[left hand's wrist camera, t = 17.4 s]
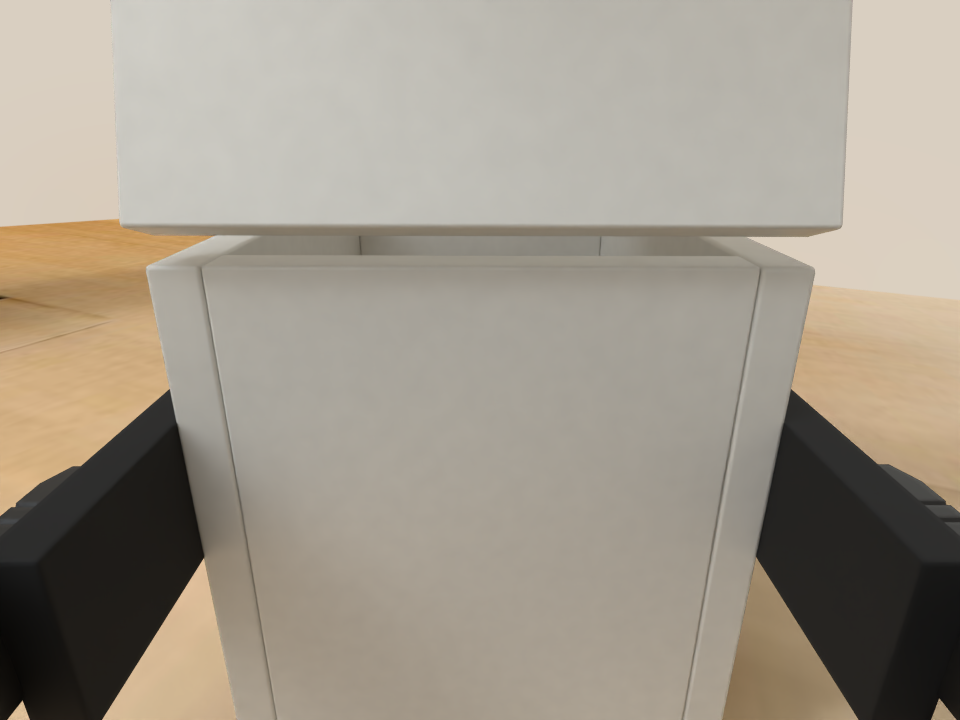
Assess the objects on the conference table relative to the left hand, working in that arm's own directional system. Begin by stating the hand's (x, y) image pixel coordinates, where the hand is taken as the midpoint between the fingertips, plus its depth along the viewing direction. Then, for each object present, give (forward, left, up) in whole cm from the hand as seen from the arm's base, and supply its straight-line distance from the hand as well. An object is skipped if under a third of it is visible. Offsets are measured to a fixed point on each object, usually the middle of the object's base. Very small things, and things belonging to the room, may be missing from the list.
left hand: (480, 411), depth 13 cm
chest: (+3, -2, -7) cm, 8 cm away
